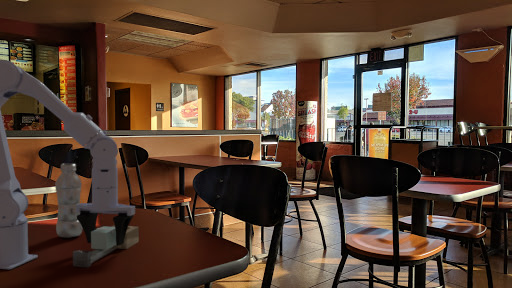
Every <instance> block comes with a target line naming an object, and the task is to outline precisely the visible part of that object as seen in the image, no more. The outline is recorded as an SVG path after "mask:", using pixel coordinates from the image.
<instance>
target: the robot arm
mask: <svg viewBox="0 0 512 288" xmlns="http://www.w3.org/2000/svg"><path fill="white" fill-rule="evenodd" d="M17 94H22V95H25V96H29V97H32V98H34V99H36V101H38V102H39V103H40V104H42V105H43V106H44V107H45V108H46V109H47V110H49V111H50V112H51V113H52V114H53V115H54V116H56V117H57V118H58V119H59V120H61V121H62V123H63V131H64V132H65V133H66V134H68V135H69V136H70V137H71V138H72V139H73V140H75V141H76V142H77V143H78V144H79V145H80V146H81V147H83V148H84V149H88V150H89V151H90V156H91V157H92V168H91V202H86V203H84V202H81V203H80V204H77V205H76V213H80V215H77V220H78V221H79V222H80V224H81V226H82V227H83V229H82V231H83V232H84V235H85V238H86V242H87V244H91V232H92V231H94V230H96V229H97V220H98V215H99V214H106V215H107V214H109V215H111V214H112V215H116V216H113V217H112V221H113V226H114V225H115V230H116V245H118V246H119V245H121V244H123V243H124V239H125V234H126V231H127V228H128V226H130V223H131V221H132V219H133V218H134V215H136V206H135V205H128V204H123V203H119V194H118V193H119V185H118V184H119V181H118V178H119V177H118V176H119V175H118V173H119V172H118V171H119V170H118V166H117V165H118V160H117V157H118V154H119V149H118V145H117V143H116V141H115V140H114V139H113V138H112V137H111V136H109V135H108V131H106V130H105V129H104V130H102V129H101V127H99V126H98V125H97V124H96V123H95V122H93V117H92V116H91V115H90V114H87V115H86V114H85V113H84V112H74V111H73V110H72V109H71V108H70V107H69V106H68V105H67V104H66V103H64V102H63V101H62V100H61V99H60V98H59V97H58V96H57V95H56V94H55V93H54V92H53V91H52V90H50V88H48V87H47V85H45V83H43V82H41V81H40V80H39V79H37V78H36V77H34V76H33V75H31V74H29V73H28V72H26V71H25V70H24V69H23V68H21V67H20V66H18V65H16V64H15V63H13V62H12V61H10V60H7V59H1V58H0V270H1V269H2V270H12V269H15V268H17V267H19V266H21V265H23V264H26V263H27V262H30V261H32V260H34V259H37V258H38V254H29V237H28V235H29V233H28V228H29V227H28V217H26V215H25V213H24V212H25V211H26V210H27V209H28V206H29V199H28V196H27V195H26V194H25V193H24V191H23V190H22V187H21V184H20V182H19V179H17V177H16V175H15V174H16V173H15V169H14V165H13V160H12V157H11V151H10V147H9V143H8V137H7V133H6V129H5V124H4V120H3V115H2V111H1V108H2V107H3V106H4V105H5V104H6V103H7V101H8V100H9V99H10V98H11V97H13V96H16V95H17Z"/></svg>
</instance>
